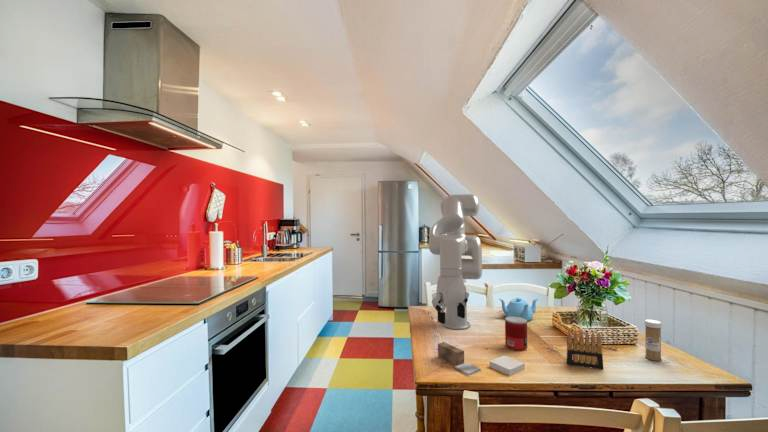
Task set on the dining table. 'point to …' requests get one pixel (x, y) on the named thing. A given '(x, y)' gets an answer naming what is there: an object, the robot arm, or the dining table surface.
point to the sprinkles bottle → (653, 340)
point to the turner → (456, 358)
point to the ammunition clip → (591, 350)
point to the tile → (507, 365)
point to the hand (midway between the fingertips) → (451, 319)
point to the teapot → (519, 308)
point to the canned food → (516, 333)
